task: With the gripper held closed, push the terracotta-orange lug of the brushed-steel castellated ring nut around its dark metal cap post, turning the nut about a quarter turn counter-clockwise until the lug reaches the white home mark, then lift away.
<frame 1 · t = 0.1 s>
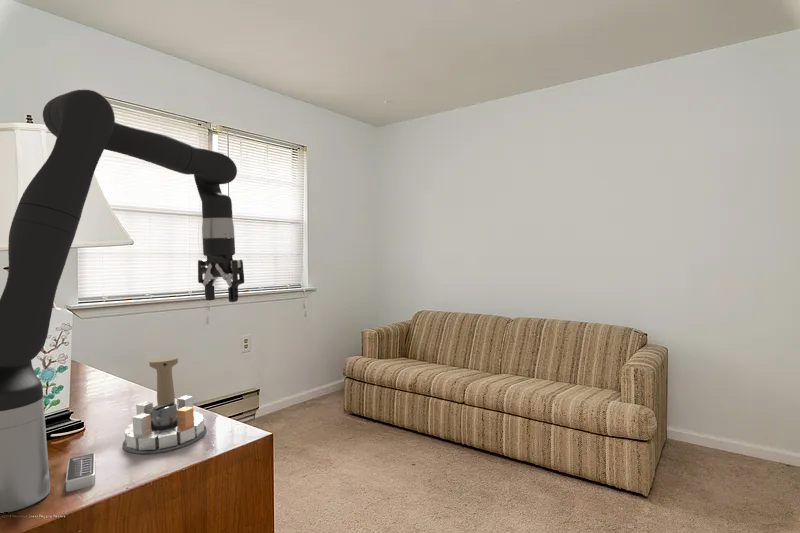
hand: (221, 300, 119), 29 cm above the table, tool pointing down, fingers open, 8 cm apart
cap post: (166, 437, 107), on the table
multiport hub: (82, 478, 90), on the table
handle: (167, 418, 119), on the table
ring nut: (165, 420, 107), point 4 cm above the table, hinge at 0.0°
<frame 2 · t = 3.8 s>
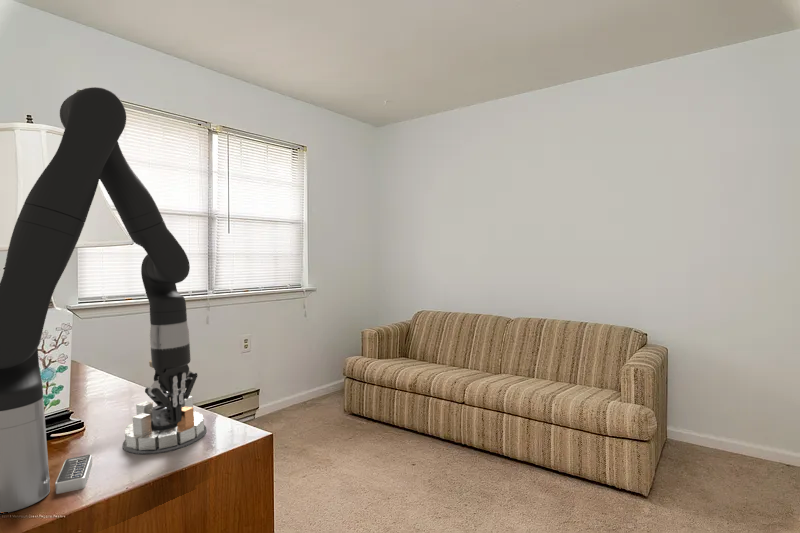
hand: (175, 422, 102), 5 cm above the table, tool pointing down, fingers closed
multiport hub: (75, 480, 90), on the table
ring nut: (165, 420, 107), point 4 cm above the table, hinge at 0.0°, touching gripper
everything else where it was.
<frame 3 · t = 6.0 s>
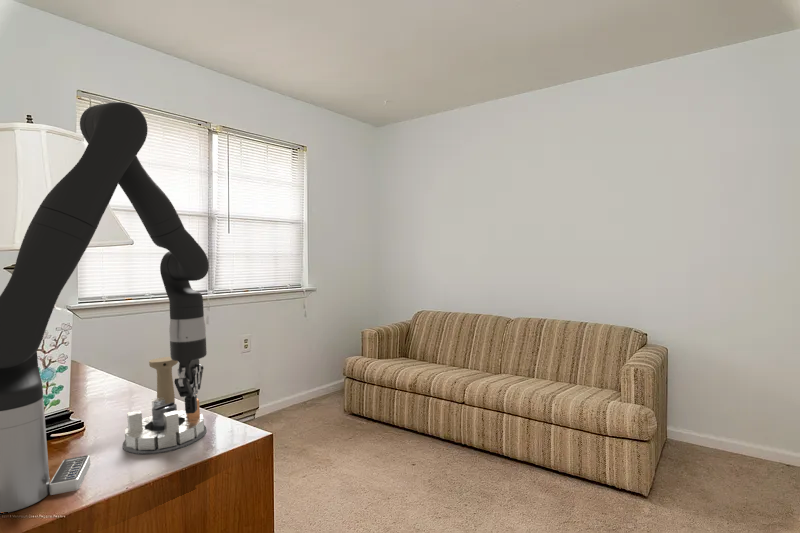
hand: (191, 412, 108), 5 cm above the table, tool pointing down, fingers closed
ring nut: (165, 420, 107), point 4 cm above the table, hinge at 59.0°, touching gripper
everything else where it was.
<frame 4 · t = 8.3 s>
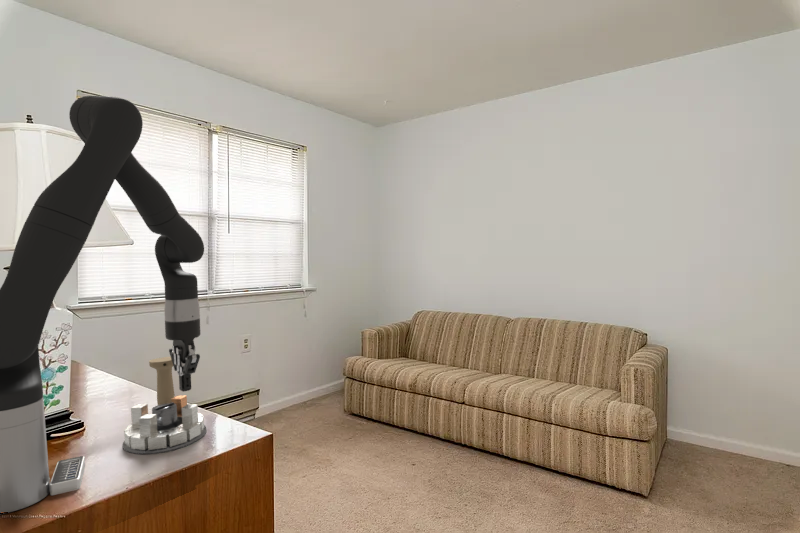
hand: (185, 390, 112), 9 cm above the table, tool pointing down, fingers closed
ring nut: (165, 420, 107), point 4 cm above the table, hinge at 105.0°
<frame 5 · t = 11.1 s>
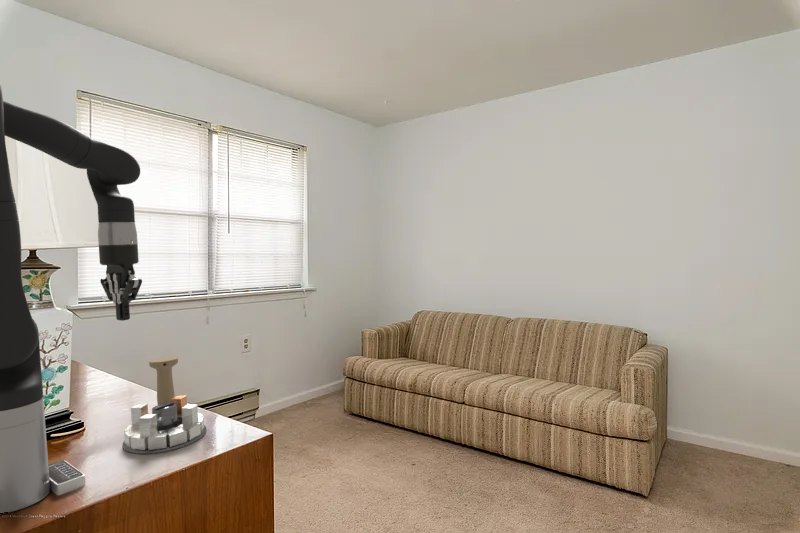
hand: (123, 319, 107), 27 cm above the table, tool pointing down, fingers closed
multiport hub: (61, 484, 88), on the table
everything else where it was.
at the end: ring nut at +105° (first picture: +0°) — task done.
